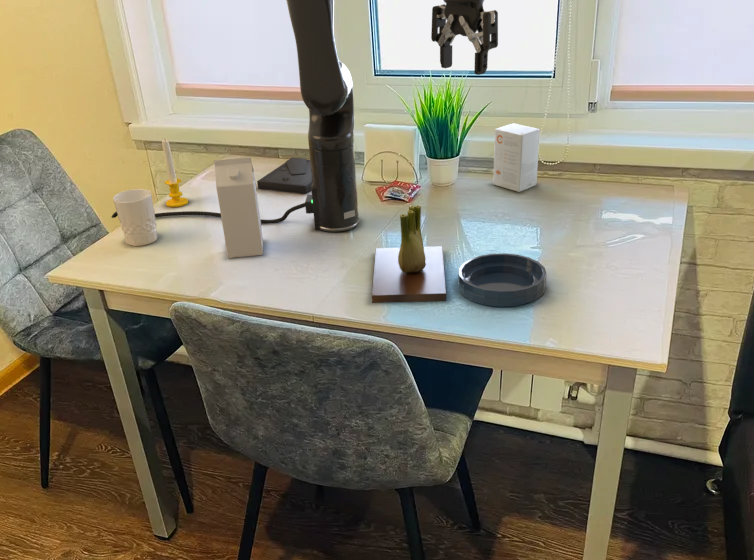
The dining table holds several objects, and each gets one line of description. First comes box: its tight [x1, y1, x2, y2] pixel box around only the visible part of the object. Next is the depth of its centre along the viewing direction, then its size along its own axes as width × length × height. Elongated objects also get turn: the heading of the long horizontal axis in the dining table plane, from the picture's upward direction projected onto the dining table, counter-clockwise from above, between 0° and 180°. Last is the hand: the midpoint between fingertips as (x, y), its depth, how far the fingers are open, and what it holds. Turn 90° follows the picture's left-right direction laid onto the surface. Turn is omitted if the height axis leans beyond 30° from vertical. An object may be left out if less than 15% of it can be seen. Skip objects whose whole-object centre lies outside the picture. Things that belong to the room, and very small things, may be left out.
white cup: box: [112, 188, 159, 247], centre depth 166 cm, size 8×8×10 cm
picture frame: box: [256, 157, 312, 195], centre depth 194 cm, size 13×2×18 cm
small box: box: [492, 122, 541, 193], centre depth 179 cm, size 8×6×13 cm
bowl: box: [457, 253, 548, 307], centre depth 139 cm, size 15×15×3 cm
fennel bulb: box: [398, 205, 426, 273], centre depth 142 cm, size 6×5×12 cm
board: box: [371, 245, 447, 304], centre depth 146 cm, size 13×20×2 cm, turn 176°
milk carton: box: [213, 156, 264, 259], centre depth 156 cm, size 7×7×19 cm
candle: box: [161, 138, 189, 208], centre depth 182 cm, size 5×5×16 cm
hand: (463, 70), depth 143 cm, fingers open, 8 cm apart
